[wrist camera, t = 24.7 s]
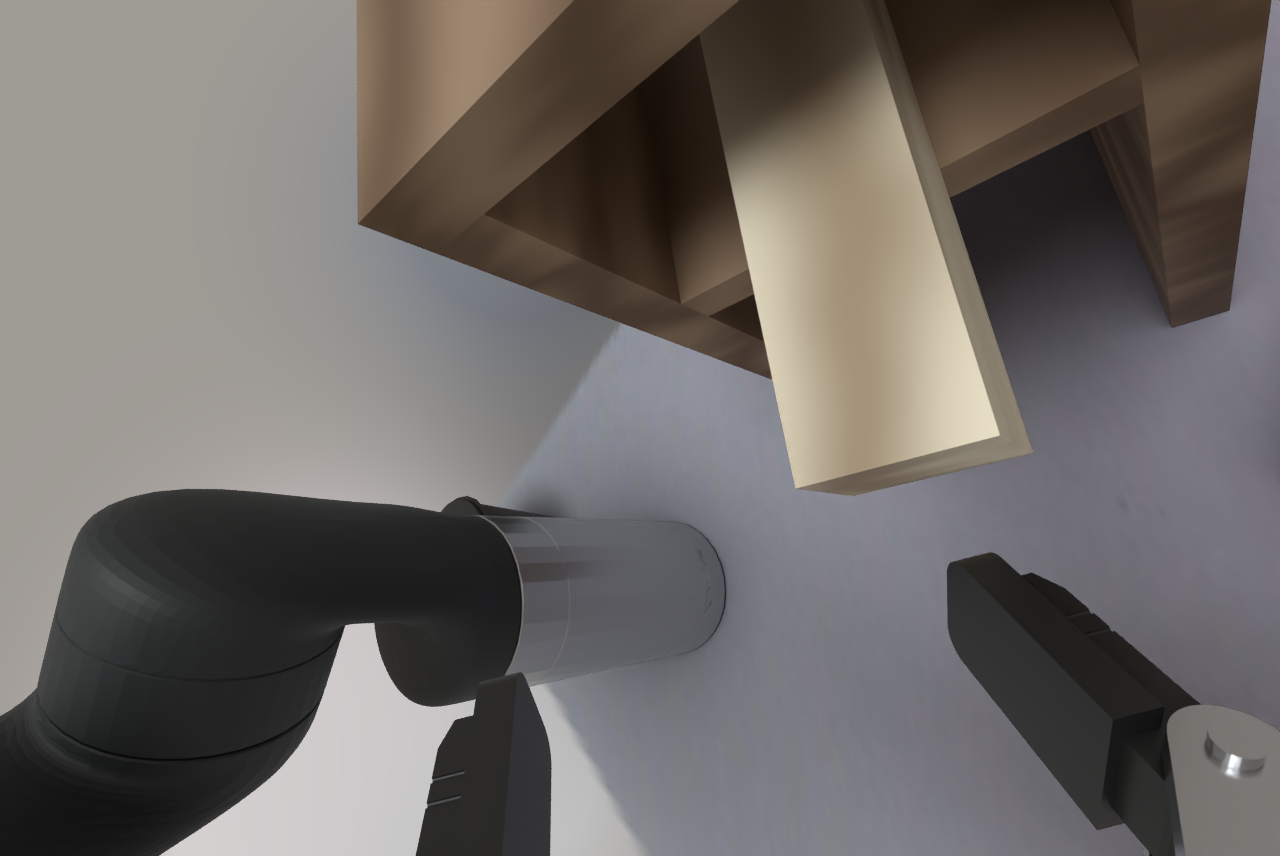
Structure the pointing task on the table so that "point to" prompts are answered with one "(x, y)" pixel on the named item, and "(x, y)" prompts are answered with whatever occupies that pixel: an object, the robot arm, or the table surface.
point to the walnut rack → (695, 160)
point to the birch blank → (854, 251)
